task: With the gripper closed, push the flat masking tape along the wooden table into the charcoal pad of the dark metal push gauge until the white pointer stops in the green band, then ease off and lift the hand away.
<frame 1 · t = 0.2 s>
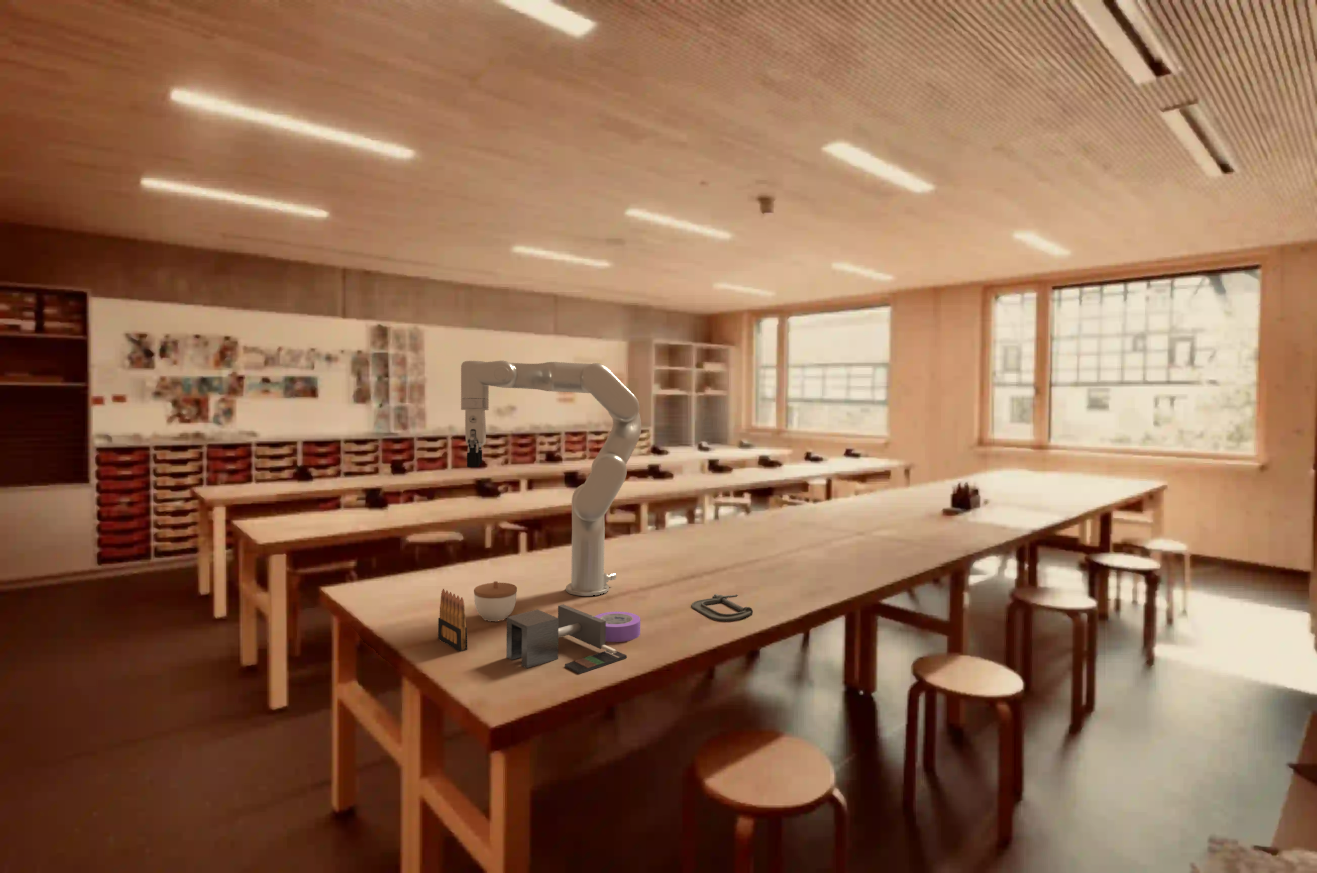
hand: (474, 465, 192), 37 cm above the table, tool pointing down, fingers open, 9 cm apart
c clamp: (725, 611, 185), on the table
gauge case: (532, 658, 148), on the table
ammunition clip: (452, 645, 155), on the table
lidded jar: (495, 618, 174), on the table
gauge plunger: (561, 635, 150), point 4 cm above the table, slide at 0.0 cm
masking tape: (616, 634, 164), on the table
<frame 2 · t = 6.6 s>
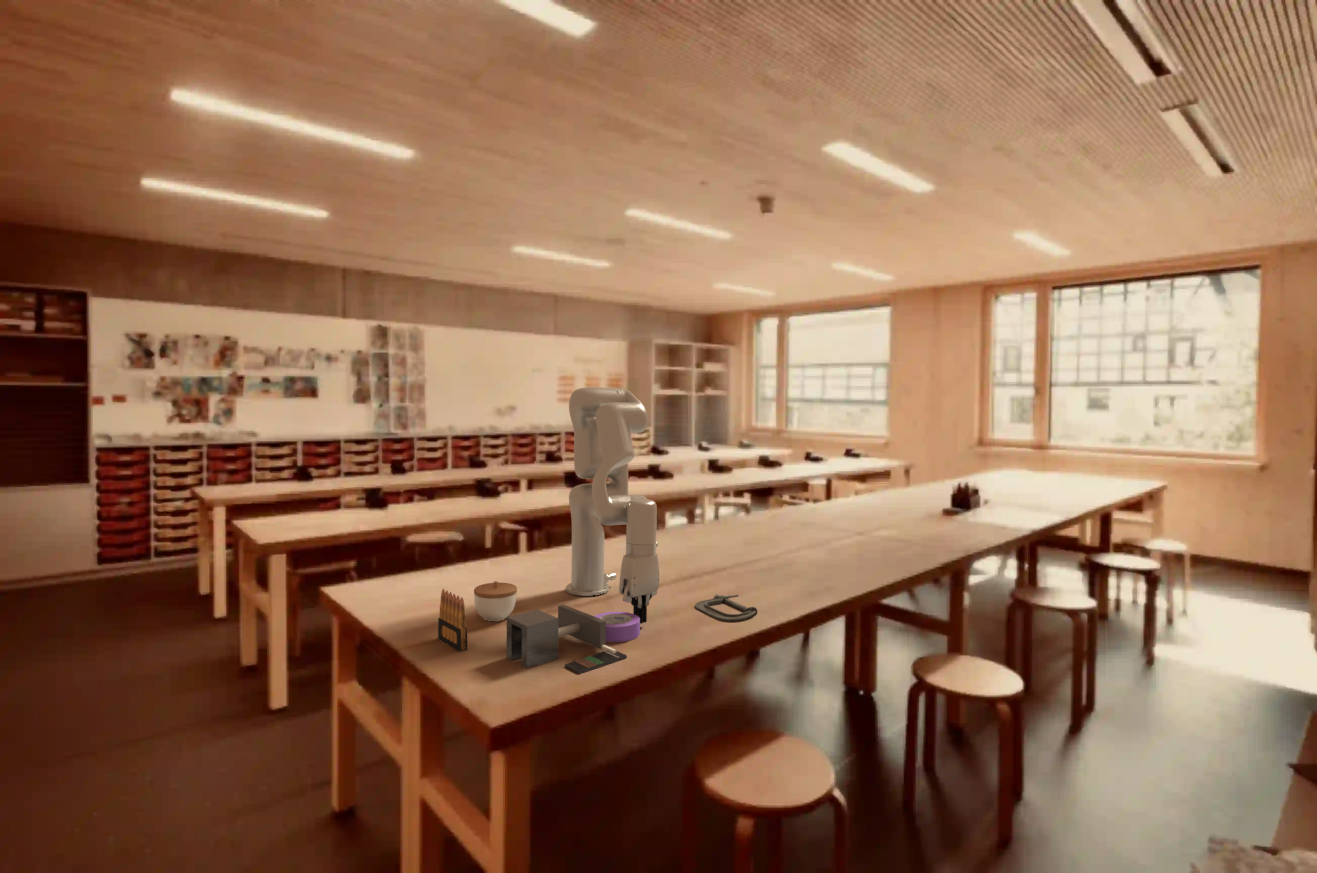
hand: (639, 621, 170), 1 cm above the table, tool pointing down, fingers closed
masking tape: (615, 634, 164), on the table, touching gripper
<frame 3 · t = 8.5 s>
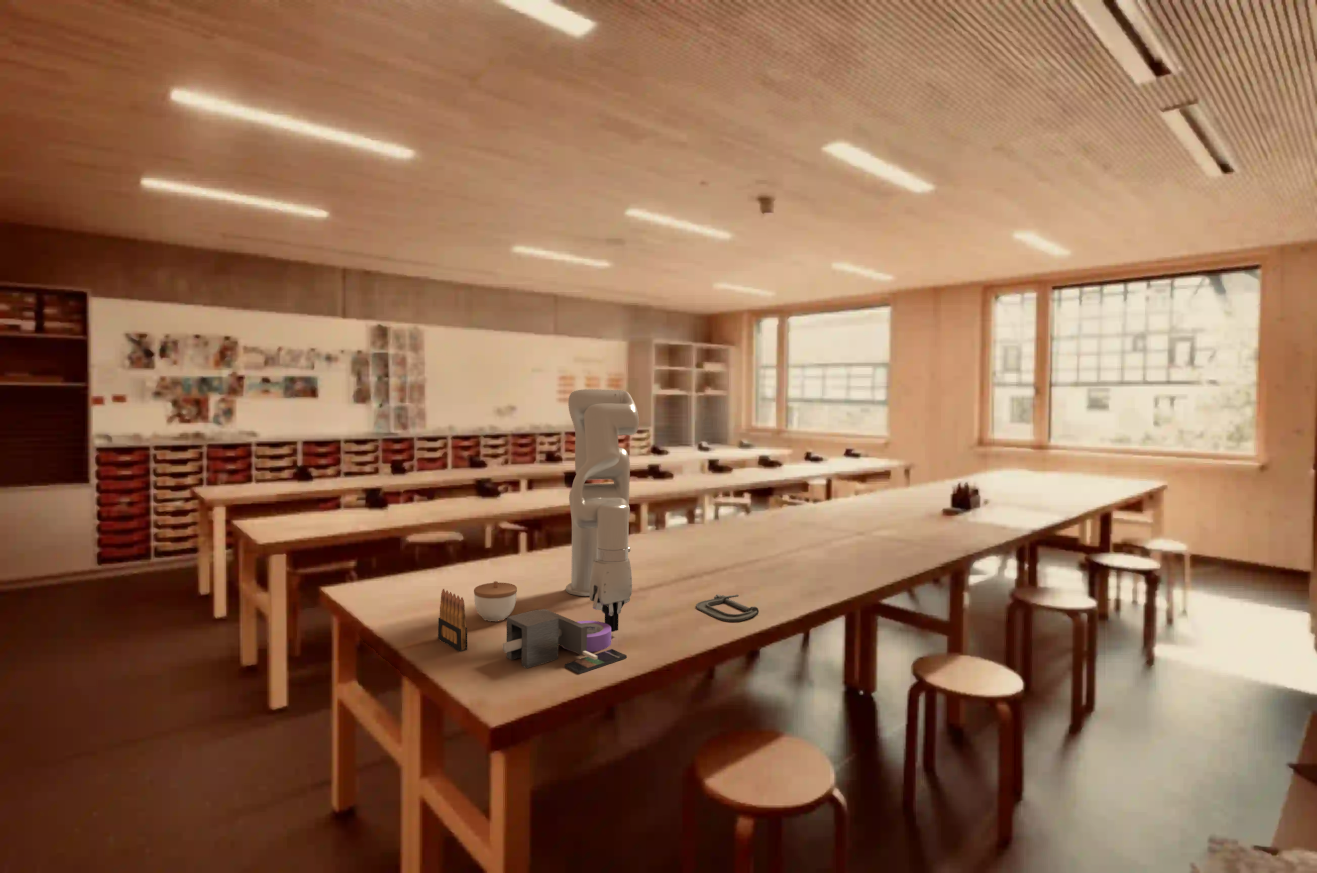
hand: (611, 629, 163), 1 cm above the table, tool pointing down, fingers closed
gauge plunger: (541, 640, 147), point 4 cm above the table, slide at 5.3 cm
masking tape: (586, 645, 158), on the table, touching gripper
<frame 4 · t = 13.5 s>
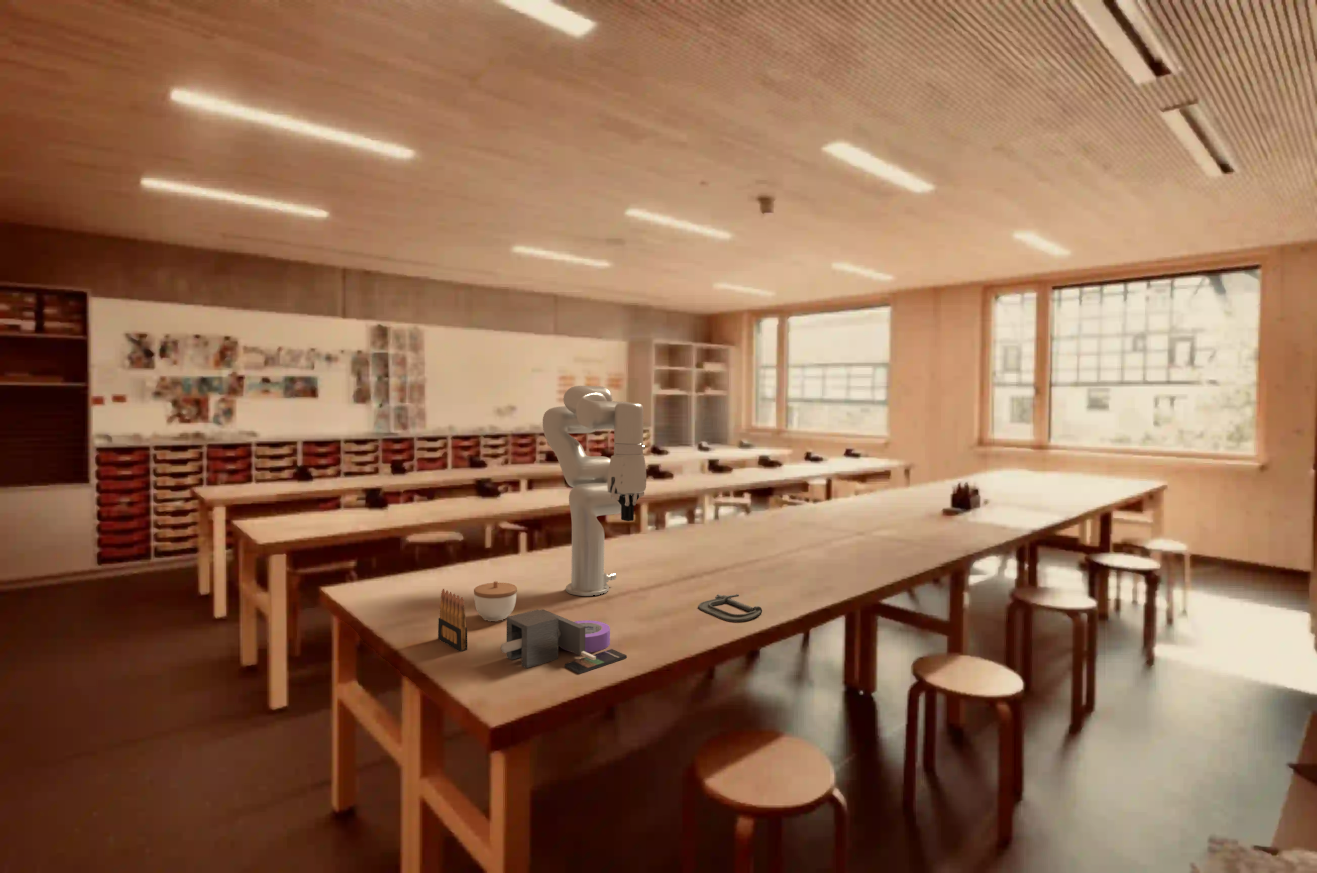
hand: (627, 520, 177), 25 cm above the table, tool pointing down, fingers closed
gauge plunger: (539, 641, 146), point 4 cm above the table, slide at 5.7 cm
masking tape: (584, 645, 157), on the table
at the end: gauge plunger slide at 5.7 cm; masking tape inside the target area (0.7 cm from its centre), on the table; the gripper is holding nothing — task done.
